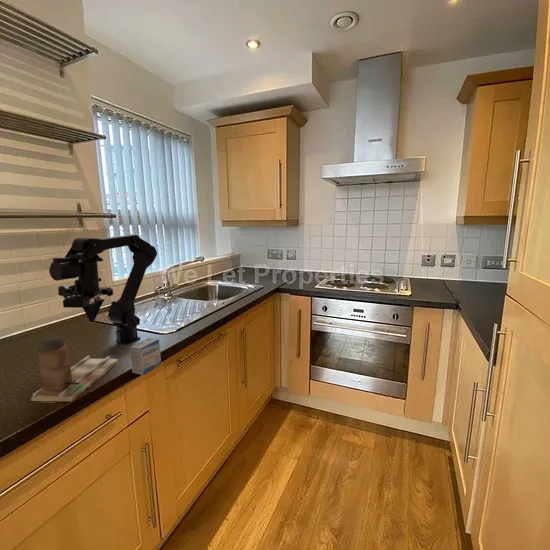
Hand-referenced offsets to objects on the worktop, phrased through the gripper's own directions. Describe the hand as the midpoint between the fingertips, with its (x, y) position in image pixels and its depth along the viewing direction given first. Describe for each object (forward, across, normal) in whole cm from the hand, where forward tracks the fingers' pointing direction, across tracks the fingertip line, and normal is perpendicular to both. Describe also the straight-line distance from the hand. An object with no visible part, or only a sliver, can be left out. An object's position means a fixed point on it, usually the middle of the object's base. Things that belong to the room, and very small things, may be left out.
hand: (92, 321), depth 102 cm
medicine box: (+12, +10, +22) cm, 27 cm away
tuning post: (+11, +23, +5) cm, 26 cm away
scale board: (+12, +16, +4) cm, 21 cm away
